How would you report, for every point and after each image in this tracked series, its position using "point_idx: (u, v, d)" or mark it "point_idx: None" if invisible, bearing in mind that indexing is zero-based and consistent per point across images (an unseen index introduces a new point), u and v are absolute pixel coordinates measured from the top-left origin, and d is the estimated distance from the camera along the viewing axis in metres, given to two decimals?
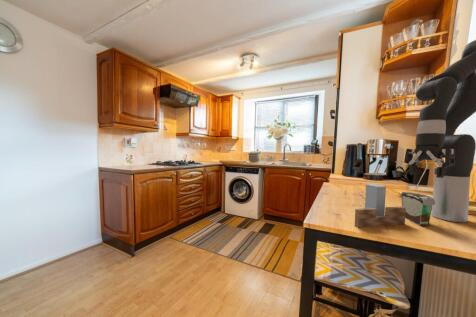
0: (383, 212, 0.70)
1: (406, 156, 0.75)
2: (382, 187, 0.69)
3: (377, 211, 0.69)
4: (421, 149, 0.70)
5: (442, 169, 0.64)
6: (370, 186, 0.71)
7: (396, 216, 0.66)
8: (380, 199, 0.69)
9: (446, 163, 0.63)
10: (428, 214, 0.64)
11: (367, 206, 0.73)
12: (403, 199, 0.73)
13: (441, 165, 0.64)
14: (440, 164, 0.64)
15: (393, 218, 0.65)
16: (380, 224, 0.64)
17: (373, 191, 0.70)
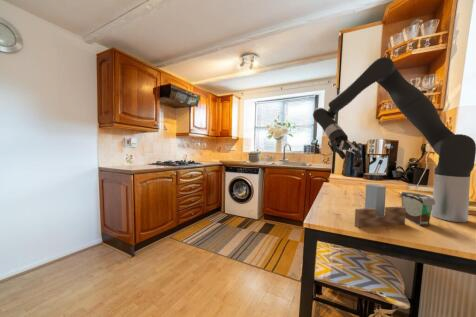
0: (383, 212, 0.70)
1: None
2: (382, 187, 0.69)
3: (377, 211, 0.69)
4: None
5: None
6: (370, 186, 0.71)
7: (396, 216, 0.66)
8: (380, 199, 0.69)
9: None
10: (428, 214, 0.64)
11: (367, 206, 0.73)
12: (403, 199, 0.73)
13: (336, 152, 0.85)
14: None
15: (393, 218, 0.65)
16: (380, 224, 0.64)
17: (373, 191, 0.70)
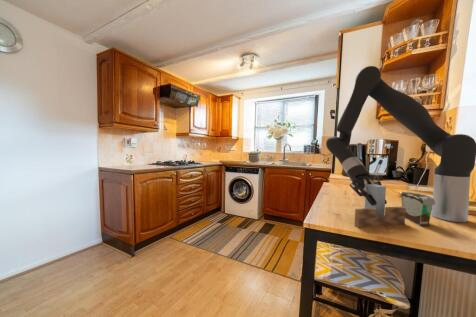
0: (383, 212, 0.70)
1: None
2: (382, 187, 0.69)
3: (377, 211, 0.69)
4: None
5: None
6: (370, 186, 0.71)
7: (396, 216, 0.66)
8: (380, 199, 0.69)
9: None
10: (428, 214, 0.64)
11: (367, 206, 0.73)
12: (403, 199, 0.73)
13: None
14: None
15: (393, 218, 0.65)
16: (380, 224, 0.64)
17: (373, 191, 0.70)
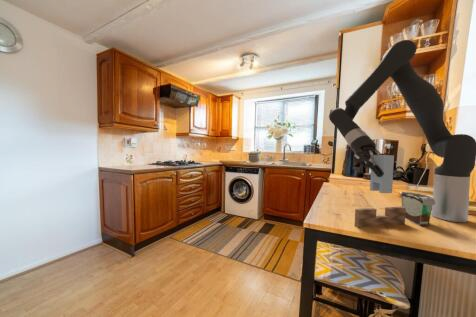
0: (391, 184, 0.63)
1: None
2: (390, 156, 0.62)
3: (384, 183, 0.62)
4: None
5: None
6: (376, 156, 0.65)
7: (396, 216, 0.66)
8: (388, 169, 0.62)
9: None
10: (428, 214, 0.64)
11: (373, 179, 0.66)
12: (403, 199, 0.73)
13: None
14: None
15: (393, 218, 0.65)
16: (380, 224, 0.64)
17: (380, 161, 0.63)
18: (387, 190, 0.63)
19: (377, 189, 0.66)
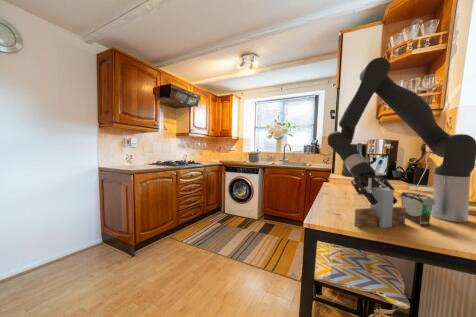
0: (390, 218, 0.63)
1: None
2: (390, 191, 0.63)
3: (384, 217, 0.63)
4: None
5: None
6: (376, 189, 0.65)
7: (396, 216, 0.66)
8: (387, 204, 0.63)
9: None
10: (428, 214, 0.64)
11: None
12: (403, 199, 0.73)
13: None
14: None
15: (393, 218, 0.65)
16: None
17: (379, 195, 0.64)
18: (387, 224, 0.63)
19: None
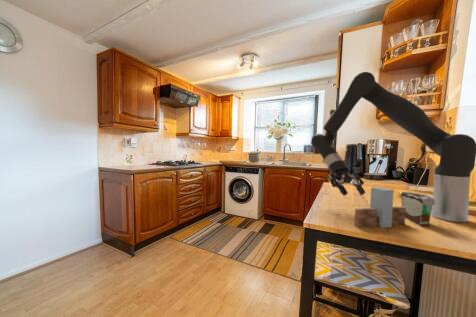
0: (390, 218, 0.63)
1: None
2: (389, 191, 0.63)
3: (384, 217, 0.63)
4: None
5: None
6: (376, 190, 0.65)
7: (396, 216, 0.66)
8: (387, 204, 0.63)
9: None
10: (428, 214, 0.64)
11: None
12: (403, 199, 0.73)
13: None
14: None
15: (393, 218, 0.65)
16: None
17: (379, 196, 0.64)
18: (387, 224, 0.63)
19: None
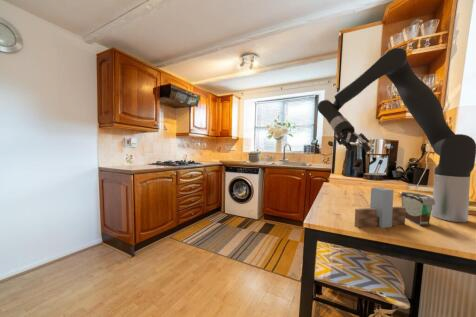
0: (390, 218, 0.63)
1: None
2: (389, 191, 0.63)
3: (384, 217, 0.63)
4: None
5: (345, 146, 0.80)
6: (376, 190, 0.65)
7: (396, 216, 0.66)
8: (387, 204, 0.63)
9: None
10: (428, 214, 0.64)
11: None
12: (403, 199, 0.73)
13: None
14: None
15: (393, 218, 0.65)
16: None
17: (379, 196, 0.64)
18: (387, 224, 0.63)
19: None
